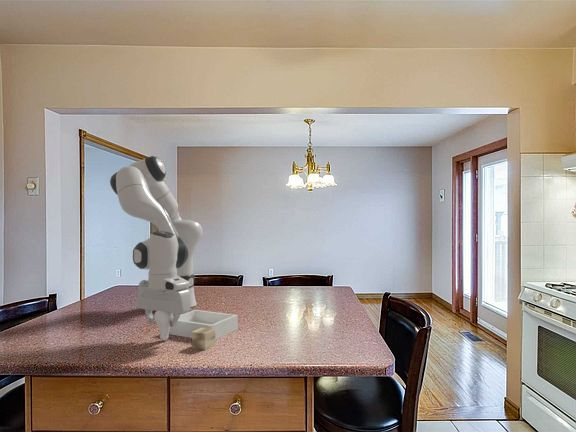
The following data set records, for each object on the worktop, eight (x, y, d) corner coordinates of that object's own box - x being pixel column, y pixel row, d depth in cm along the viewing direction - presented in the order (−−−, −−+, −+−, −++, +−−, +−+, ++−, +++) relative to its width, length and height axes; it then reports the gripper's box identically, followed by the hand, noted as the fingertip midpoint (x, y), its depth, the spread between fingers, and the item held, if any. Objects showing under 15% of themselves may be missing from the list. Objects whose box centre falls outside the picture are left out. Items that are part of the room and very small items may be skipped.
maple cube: (192, 348, 116) (192, 331, 116) (202, 343, 120) (202, 327, 120) (205, 350, 114) (205, 333, 114) (215, 345, 118) (215, 329, 118)
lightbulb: (177, 338, 124) (178, 305, 124) (166, 344, 118) (166, 309, 119) (162, 336, 126) (162, 303, 126) (150, 342, 120) (150, 307, 121)
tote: (166, 333, 130) (166, 319, 130) (195, 322, 143) (195, 309, 143) (212, 341, 122) (212, 325, 122) (237, 329, 135) (237, 315, 135)
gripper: (131, 280, 124) (131, 323, 124) (180, 285, 115) (179, 331, 115) (146, 278, 130) (146, 318, 130) (193, 282, 121) (193, 326, 121)
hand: (162, 324), depth 122 cm, fingers open, 8 cm apart
